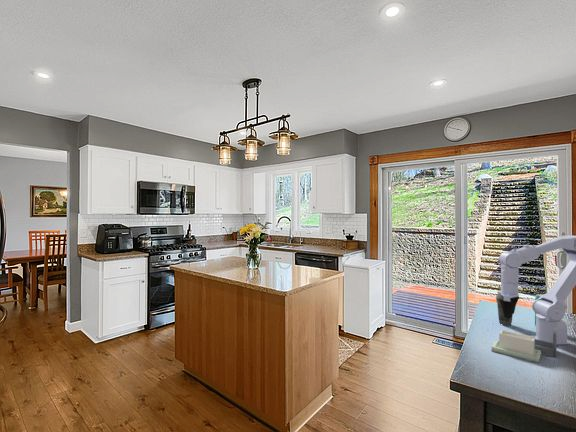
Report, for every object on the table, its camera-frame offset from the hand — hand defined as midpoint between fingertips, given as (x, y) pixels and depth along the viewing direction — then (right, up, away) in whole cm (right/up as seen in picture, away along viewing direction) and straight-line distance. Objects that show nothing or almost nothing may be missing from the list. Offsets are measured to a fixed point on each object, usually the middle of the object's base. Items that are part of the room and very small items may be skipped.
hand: (509, 315), depth 125 cm
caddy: (-7, -9, -13) cm, 17 cm away
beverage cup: (+10, -10, +17) cm, 22 cm away
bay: (+5, -10, -11) cm, 15 cm away
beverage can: (+23, -10, +11) cm, 27 cm away
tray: (-7, -9, -13) cm, 17 cm away
